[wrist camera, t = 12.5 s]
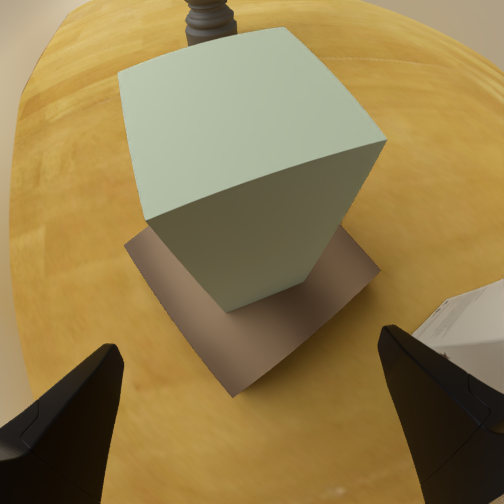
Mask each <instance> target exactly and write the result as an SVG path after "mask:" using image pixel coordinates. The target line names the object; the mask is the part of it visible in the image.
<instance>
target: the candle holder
mask: <svg viewBox="0 0 504 504" xmlns="http://www.w3.org/2000/svg"><path fill="white" fill-rule="evenodd" d="M185 1H186V2H187V3H189V4H188V6H189V7H190V8H191V10H190V12H189V14H188V15H187V17H186V20H185V21H186V23H187V24H188V25H187V27H186V30H185V32H186V37H187V41H188V46H193V45H196V44H200V43H204V42H207V41H211V40H215V39H219V38H224V37H228V36H233V35H237V22H236V21H235V20H234V19H233V17H234V12H233V11H232V10H231V9H230V8H229V7H228V6H227V5H226V4H225V3H226V2H227V0H185Z"/></svg>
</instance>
